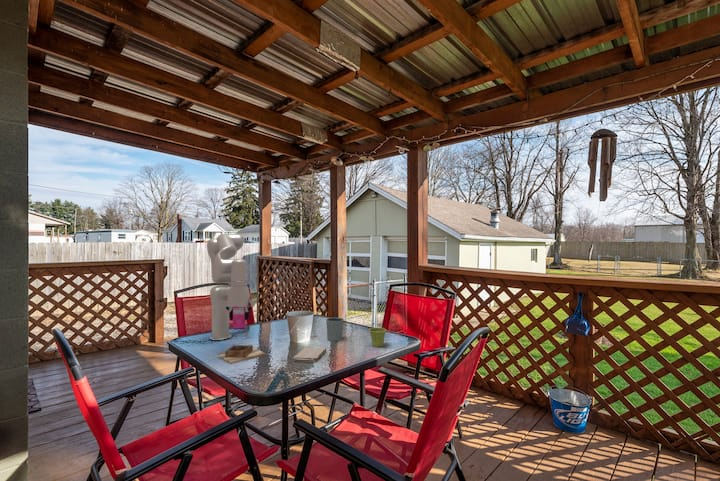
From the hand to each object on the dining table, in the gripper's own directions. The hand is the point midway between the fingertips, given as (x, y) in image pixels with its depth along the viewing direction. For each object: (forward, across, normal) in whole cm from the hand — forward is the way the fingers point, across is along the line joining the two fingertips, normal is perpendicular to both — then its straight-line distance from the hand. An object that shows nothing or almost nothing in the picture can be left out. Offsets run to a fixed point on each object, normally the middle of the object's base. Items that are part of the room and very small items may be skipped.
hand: (239, 319), depth 170 cm
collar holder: (+18, 0, 0) cm, 18 cm away
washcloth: (+19, +36, 0) cm, 41 cm away
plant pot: (+19, +70, +18) cm, 75 cm away
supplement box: (+5, 0, 0) cm, 5 cm away
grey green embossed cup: (+19, +45, +30) cm, 57 cm away
